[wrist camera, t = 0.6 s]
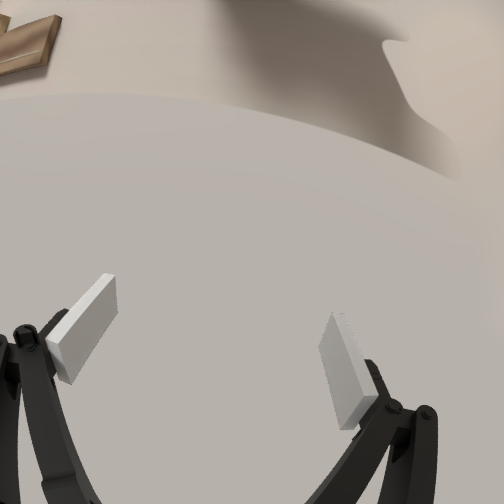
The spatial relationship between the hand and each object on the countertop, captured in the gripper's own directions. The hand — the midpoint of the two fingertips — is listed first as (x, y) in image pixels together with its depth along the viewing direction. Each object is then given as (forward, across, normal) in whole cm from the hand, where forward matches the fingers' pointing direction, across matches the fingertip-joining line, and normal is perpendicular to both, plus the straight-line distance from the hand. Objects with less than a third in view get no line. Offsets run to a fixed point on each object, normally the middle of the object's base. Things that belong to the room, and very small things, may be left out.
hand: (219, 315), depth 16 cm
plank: (+28, -53, +27) cm, 66 cm away
